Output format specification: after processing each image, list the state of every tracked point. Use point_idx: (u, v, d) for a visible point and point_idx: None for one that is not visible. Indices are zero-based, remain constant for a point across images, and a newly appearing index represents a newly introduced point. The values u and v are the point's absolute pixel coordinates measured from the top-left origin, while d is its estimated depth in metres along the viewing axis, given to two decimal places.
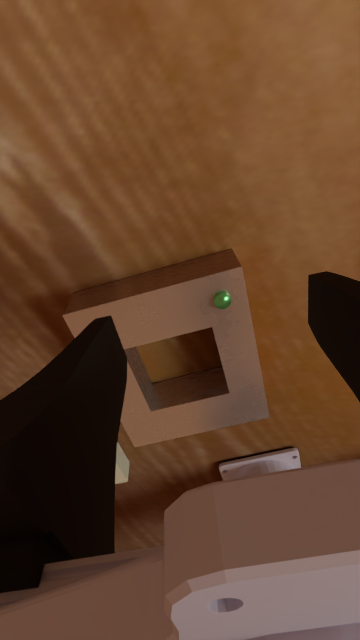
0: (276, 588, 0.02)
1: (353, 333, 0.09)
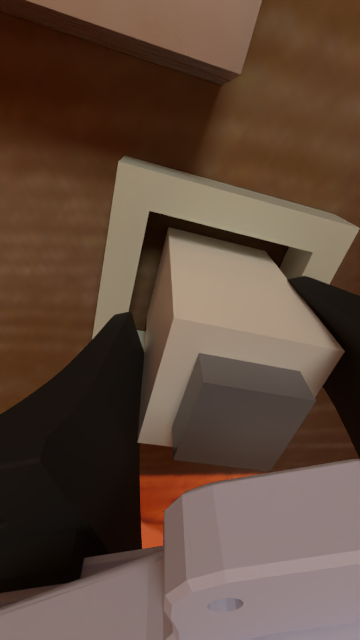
0: (276, 588, 0.02)
1: None
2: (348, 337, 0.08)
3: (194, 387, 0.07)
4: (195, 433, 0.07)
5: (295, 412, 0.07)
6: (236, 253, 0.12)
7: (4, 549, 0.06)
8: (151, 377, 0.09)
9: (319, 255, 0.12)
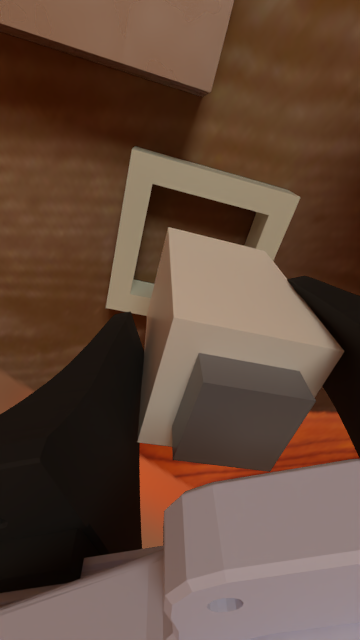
0: (276, 588, 0.02)
1: None
2: (348, 337, 0.08)
3: (194, 387, 0.07)
4: (195, 433, 0.07)
5: (295, 412, 0.07)
6: (236, 253, 0.12)
7: (4, 549, 0.06)
8: (151, 377, 0.09)
9: (273, 217, 0.16)
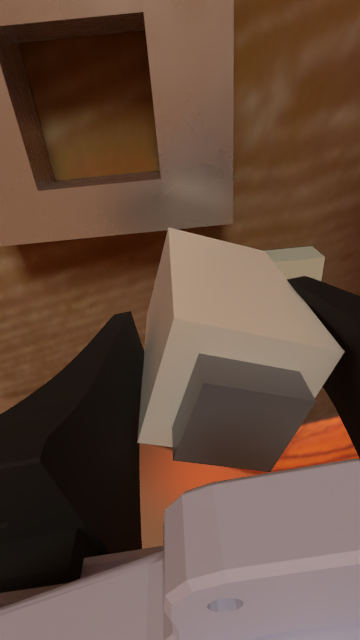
0: (276, 588, 0.02)
1: None
2: (348, 337, 0.08)
3: (194, 388, 0.07)
4: (195, 433, 0.07)
5: (295, 412, 0.07)
6: (236, 253, 0.12)
7: (4, 549, 0.06)
8: (151, 377, 0.09)
9: None
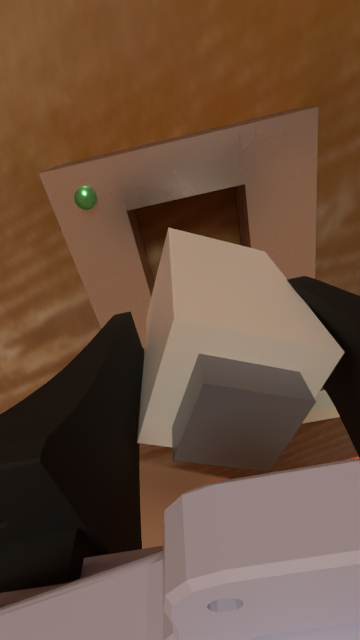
0: (276, 588, 0.02)
1: None
2: (348, 337, 0.08)
3: (194, 388, 0.07)
4: (195, 434, 0.07)
5: (295, 413, 0.07)
6: (236, 254, 0.12)
7: (4, 549, 0.06)
8: (151, 377, 0.09)
9: None
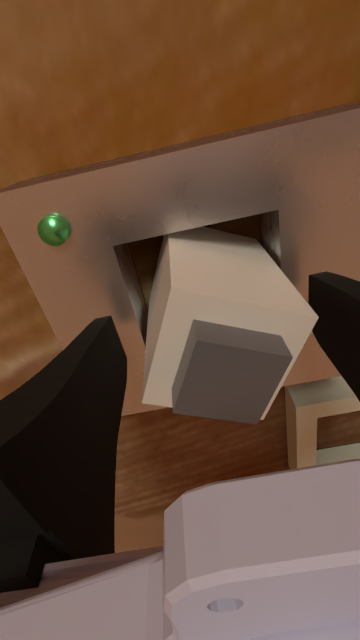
0: (276, 588, 0.02)
1: (353, 333, 0.09)
2: None
3: (189, 348, 0.09)
4: (191, 387, 0.09)
5: (276, 368, 0.09)
6: (229, 240, 0.14)
7: None
8: (153, 345, 0.10)
9: None
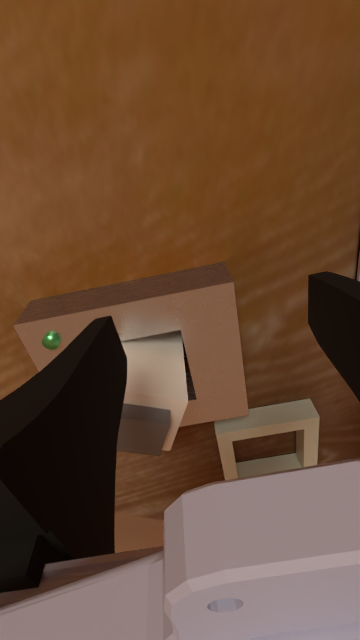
0: (276, 588, 0.02)
1: (354, 333, 0.09)
2: None
3: None
4: (121, 438, 0.17)
5: (163, 429, 0.17)
6: (160, 336, 0.22)
7: None
8: None
9: (307, 428, 0.27)
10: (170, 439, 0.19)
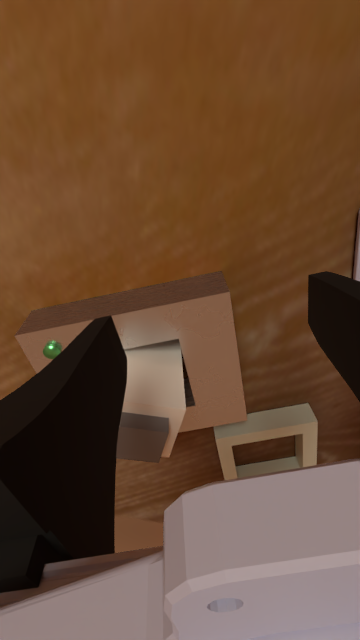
0: (276, 588, 0.02)
1: (354, 333, 0.09)
2: None
3: (119, 427, 0.17)
4: (120, 446, 0.18)
5: (161, 437, 0.17)
6: (158, 344, 0.22)
7: None
8: None
9: (306, 433, 0.27)
10: (169, 446, 0.19)
